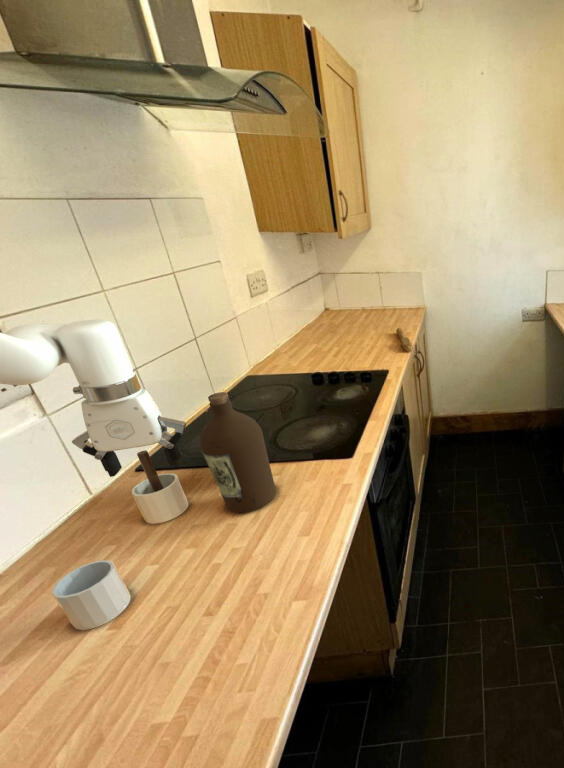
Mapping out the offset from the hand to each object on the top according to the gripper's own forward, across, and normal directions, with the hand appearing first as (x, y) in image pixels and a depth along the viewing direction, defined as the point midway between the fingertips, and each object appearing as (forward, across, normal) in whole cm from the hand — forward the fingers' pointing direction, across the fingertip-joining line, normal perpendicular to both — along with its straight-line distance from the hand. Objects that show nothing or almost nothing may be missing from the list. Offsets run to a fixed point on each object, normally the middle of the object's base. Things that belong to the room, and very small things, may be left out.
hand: (146, 467), depth 82 cm
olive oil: (+11, +16, -2) cm, 20 cm away
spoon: (+11, 0, 0) cm, 11 cm away
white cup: (+11, 0, 0) cm, 11 cm away
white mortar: (+11, -1, -24) cm, 26 cm away
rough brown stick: (+11, +60, +97) cm, 115 cm away
